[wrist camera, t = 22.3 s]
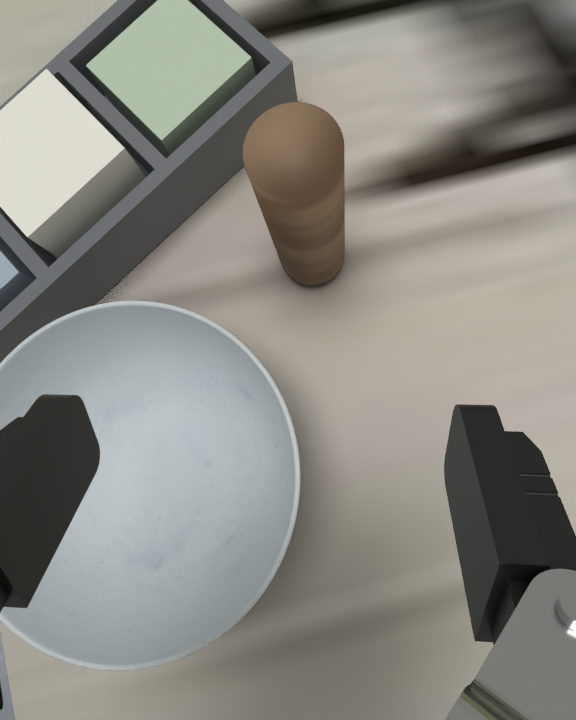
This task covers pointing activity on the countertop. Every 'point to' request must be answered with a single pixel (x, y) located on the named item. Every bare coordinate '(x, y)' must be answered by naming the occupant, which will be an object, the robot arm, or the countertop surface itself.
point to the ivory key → (59, 165)
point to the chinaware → (157, 484)
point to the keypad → (163, 176)
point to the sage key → (171, 72)
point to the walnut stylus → (300, 187)
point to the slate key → (12, 275)
